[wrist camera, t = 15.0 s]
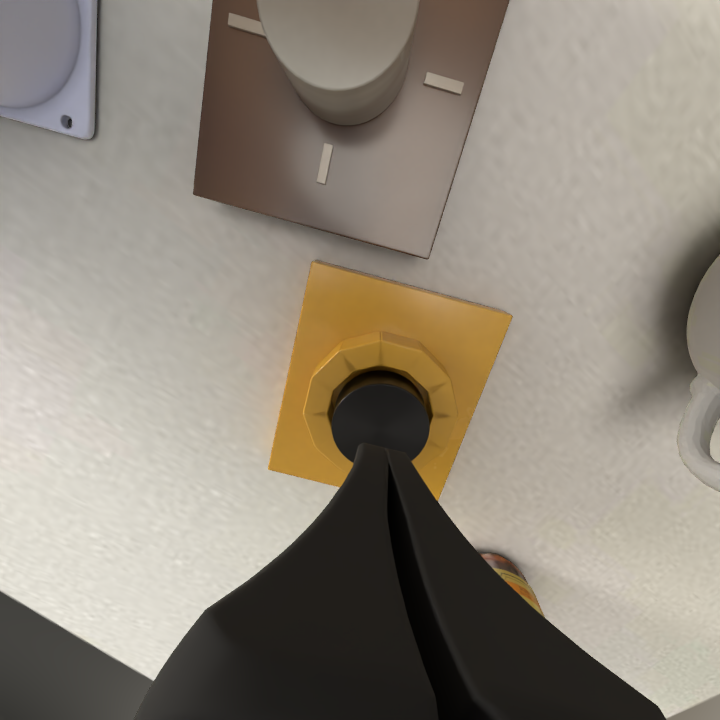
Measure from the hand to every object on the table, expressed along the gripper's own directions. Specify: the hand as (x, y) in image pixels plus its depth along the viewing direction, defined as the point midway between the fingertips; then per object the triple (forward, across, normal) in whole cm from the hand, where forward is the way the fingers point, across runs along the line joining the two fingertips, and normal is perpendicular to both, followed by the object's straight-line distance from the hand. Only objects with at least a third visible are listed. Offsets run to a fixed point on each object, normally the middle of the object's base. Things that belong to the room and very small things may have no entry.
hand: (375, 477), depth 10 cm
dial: (+7, +4, -12) cm, 15 cm away
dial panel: (+10, +4, -12) cm, 16 cm away
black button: (+8, -1, +2) cm, 8 cm away
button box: (+10, -1, +2) cm, 10 cm away
